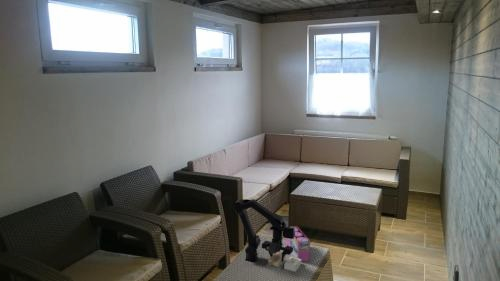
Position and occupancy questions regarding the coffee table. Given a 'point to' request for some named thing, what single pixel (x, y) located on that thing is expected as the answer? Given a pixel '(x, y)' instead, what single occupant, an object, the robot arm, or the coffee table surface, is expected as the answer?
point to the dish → (292, 264)
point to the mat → (277, 267)
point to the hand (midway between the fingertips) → (277, 260)
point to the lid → (276, 260)
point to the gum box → (299, 245)
